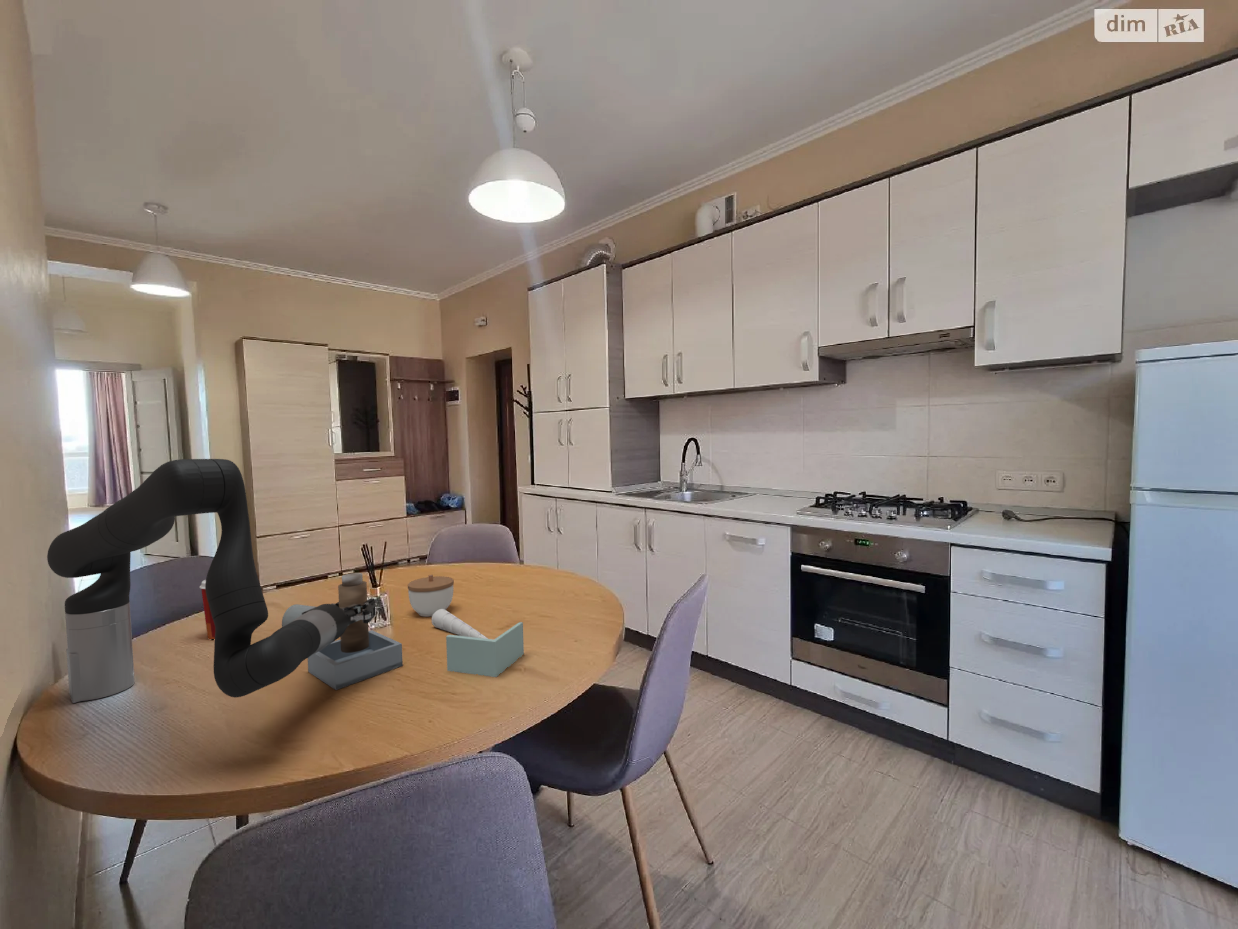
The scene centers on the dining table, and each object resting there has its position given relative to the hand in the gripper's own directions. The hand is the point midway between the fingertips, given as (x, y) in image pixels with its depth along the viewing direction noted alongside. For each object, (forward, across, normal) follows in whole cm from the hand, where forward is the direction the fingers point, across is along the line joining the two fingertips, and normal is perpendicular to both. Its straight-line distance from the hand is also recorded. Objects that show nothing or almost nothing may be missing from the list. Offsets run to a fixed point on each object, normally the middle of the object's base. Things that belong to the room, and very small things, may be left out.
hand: (359, 603), depth 115 cm
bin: (-2, 0, +14) cm, 14 cm away
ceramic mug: (+22, +24, +14) cm, 35 cm away
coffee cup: (+21, +46, +14) cm, 52 cm away
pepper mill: (-3, 0, +9) cm, 9 cm away
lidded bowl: (+35, -4, +14) cm, 38 cm away
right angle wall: (-1, -28, +14) cm, 31 cm away
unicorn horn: (+17, -18, +14) cm, 29 cm away
